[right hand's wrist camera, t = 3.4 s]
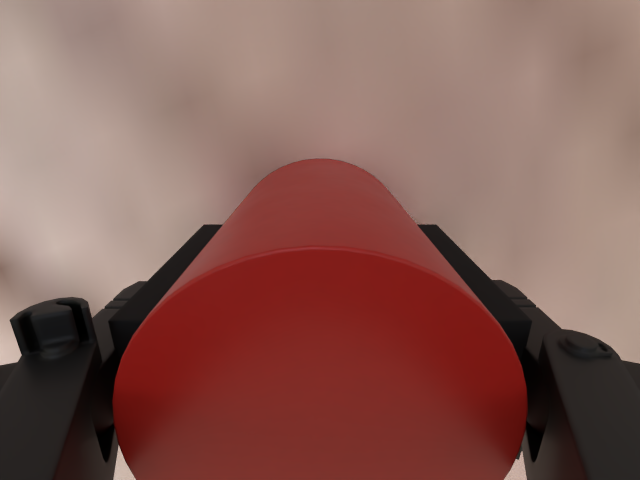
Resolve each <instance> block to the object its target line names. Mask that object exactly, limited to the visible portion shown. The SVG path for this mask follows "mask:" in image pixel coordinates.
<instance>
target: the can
mask: <svg viewBox="0 0 640 480" xmlns="http://www.w3.org/2000/svg"><path fill="white" fill-rule="evenodd" d="M112 404H113V423H114V427H115V432H116V436H117V440H118V444H119V446H120V449H121V451H122V454H123V456H124V459H125V461H126V463H127V465H128V467H129V468H130V470H131V472H132V473H133V475H134V477H135V479H136V480H504V478H505V477H506V475H507V474H508V473H509V471H510V470H511V467H512V465H513V463H514V461H515V459H516V457H517V455H518V453H519V451H520V447H521V444H522V441H523V437H524V434H525V430H526V422H527V414H528V402H527V387H526V382H525V378H524V374H523V369H522V365H521V363H520V361H519V358H518V356H517V353H516V351H515V349H514V346H513V344H512V342H511V341H510V339H509V338H508V336H507V335H506V333H505V332H504V330H503V328H502V327H501V325H500V324H499V323H498V321H497V320H496V319H495V318H494V317H493V315H492V314H491V313H490V312H489V311H488V309H487V308H486V307H485V306H484V305H483V303H482V302H481V301H480V300H479V299H478V297H477V296H476V295H475V294H474V293H473V291H472V290H471V289H470V288H469V287H468V285H467V284H466V283H465V282H464V281H463V279H462V278H461V277H460V276H459V275H458V273H457V272H456V271H455V270H454V269H453V267H452V266H451V265H450V264H449V263H448V261H447V260H446V259H445V258H444V257H443V255H442V254H441V253H440V252H439V251H438V249H437V248H436V247H435V246H434V245H433V243H432V242H431V241H430V240H429V239H428V237H427V236H426V235H425V234H424V233H423V231H422V230H421V229H420V228H419V227H418V225H417V224H416V223H415V222H414V221H413V219H412V218H411V217H410V216H409V215H408V213H407V212H406V211H405V210H404V209H403V207H402V206H401V205H400V204H399V203H398V201H397V200H396V199H395V198H394V197H393V195H392V194H391V193H390V192H389V191H388V190H387V188H386V187H385V186H384V185H383V184H382V183H381V182H380V181H379V180H377V179H376V178H375V177H374V176H373V175H371V174H369V173H368V172H366V171H365V170H363V169H361V168H359V167H357V166H354V165H352V164H349V163H346V162H342V161H338V160H331V159H309V160H302V161H298V162H294V163H291V164H288V165H286V166H283V167H281V168H279V169H277V170H276V171H274V172H272V173H270V174H269V175H268V176H266V177H265V178H264V179H263V180H261V181H260V182H259V183H258V184H257V185H256V186H255V187H254V188H253V190H252V191H251V192H250V193H249V194H248V196H247V197H246V198H245V199H244V200H243V202H242V203H241V204H240V205H239V206H238V208H237V209H236V210H235V211H234V212H233V214H232V215H231V216H230V217H229V218H228V220H227V221H226V222H225V223H224V224H223V226H222V227H221V228H220V229H219V230H218V232H217V233H216V234H215V235H214V236H213V238H212V239H211V240H210V241H209V242H208V244H207V245H206V246H205V247H204V248H203V250H202V251H201V252H200V253H199V254H198V256H197V257H196V258H195V259H194V260H193V262H192V263H191V264H190V265H189V266H188V268H187V269H186V270H185V271H184V272H183V274H182V275H181V276H180V277H179V278H178V280H177V281H176V282H175V283H174V284H173V286H172V287H171V288H170V289H169V290H168V292H167V293H166V294H165V295H164V296H163V298H162V299H161V300H160V301H159V302H158V304H157V305H156V306H155V307H154V308H153V310H152V311H151V312H150V313H149V314H148V316H147V317H146V318H145V320H144V321H143V322H142V324H141V325H140V326H139V328H138V329H137V330H136V332H135V333H134V334H133V336H132V338H131V340H130V342H129V344H128V346H127V348H126V350H125V352H124V354H123V356H122V358H121V361H120V365H119V368H118V371H117V374H116V378H115V385H114V393H113V401H112Z"/></svg>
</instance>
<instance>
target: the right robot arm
mask: <svg viewBox="0 0 640 480" xmlns="http://www.w3.org/2000/svg"><path fill="white" fill-rule="evenodd" d="M222 226H223V225H203V226H202V227H201V228H200V229H199V230H198V231H197V232H196V233H195V234H194V235H193V236H192V237H191V238H190V239H189V240H188V241H187V242H186V243H185V244H184V245H183V246H182V247H181V248H180V249H179V250H178V251H177V252H176V253H175V254H174V255H173V256H172V257H171V258H170V259H169V260H168V261H167V262H166V263H165V264H164V265H163V266H162V267H161V268H160V269H159V270H158V271H157V272H156V273H155V274H154V275H153V276H152V277H151V278H150V279H149V280H148V281H139V282H137V283H135V284H133V285H131V286H129V287H127V288H125V289H123V290H122V291H121V292H120V293H119V294H118V295H117V296H116V297H115V298H114V299H113V301H110V302H109V303H108V304H107V305H106V306H105V309H102V310H101V311H100V312H98V313H97V314H96V315H95V316H94V317H93V318H92V317H91V313H90V309H89V305H88V302H87V301H86V300H84V299H82V298H75V297H68V298H58V299H53V300H49V301H44V302H41V303H39V304H36V305H33V306H30V307H28V308H26V309H24V310H23V311H21V312H19V313H17V314H16V315H15V316H14V317H13V318H12V319H10V322H11V325H12V328H13V331H14V334H15V337H16V340H17V343H18V346H19V348H20V351H21V354H22V356H21V358H20V359H19V361H18V362H16V363H11V364H6V365H0V480H113V477H114V471H115V464H116V458H117V451H118V445H119V444H118V440H117V436H116V432H115V427H114V423H113V404H112V401H113V393H114V385H115V378H116V374H117V371H118V368H119V365H120V361H121V358H122V356H123V354H124V352H125V350H126V348H127V346H128V344H129V342H130V340H131V338H132V336H133V334H134V333H135V332H136V330H137V329H138V328H139V326H140V325H141V324H142V322H143V321H144V320H145V318H146V317H147V316H148V314H149V313H150V312H151V311H152V310H153V308H154V307H155V306H156V305H157V304H158V302H159V301H160V300H161V299H162V298H163V296H164V295H165V294H166V293H167V292H168V290H169V289H170V288H171V287H172V286H173V284H174V283H175V282H176V281H177V280H178V278H179V277H180V276H181V275H182V274H183V272H184V271H185V270H186V269H187V268H188V266H189V265H190V264H191V263H192V262H193V260H194V259H195V258H196V257H197V256H198V254H199V253H200V252H201V251H202V250H203V248H204V247H205V246H206V245H207V244H208V242H209V241H210V240H211V239H212V238H213V236H214V235H215V234H216V233H217V232H218V230H219V229H220V228H221V227H222ZM418 227H419V228H420V229H421V230H422V231H423V233H424V234H425V235H426V236H427V237H428V239H429V240H430V241H431V242H432V243H433V245H434V246H435V247H436V248H437V249H438V251H439V252H440V253H441V254H442V255H443V257H444V258H445V259H446V260H447V261H448V263H449V264H450V265H451V266H452V267H453V269H454V270H455V271H456V272H457V273H458V275H459V276H460V277H461V278H462V279H463V281H464V282H465V283H466V284H467V285H468V287H469V288H470V289H471V290H472V291H473V293H474V294H475V295H476V296H477V297H478V299H479V300H480V301H481V302H482V303H483V305H484V306H485V307H486V308H487V309H488V311H489V312H490V313H491V314H492V315H493V317H494V318H495V319H496V320H497V321H498V323H499V324H500V325H501V327H502V328H503V330H504V332H505V333H506V335H507V336H508V338H509V339H510V341H511V342H512V344H513V346H514V349H515V351H516V353H517V356H518V358H519V361H520V363H521V365H522V369H523V374H524V378H525V382H526V387H527V402H528V414H527V422H526V430H525V434H524V437H523V441H522V444H521V447H520V451H519V453H518V455H517V457H516V459H518V460H519V457H520V453H521V451H523V457H524V463H525V470H526V476H527V480H640V364H639V363H633V362H628V361H622V360H621V359H620V357H619V355H618V354H617V353H616V352H615V351H614V350H613V349H612V348H611V347H610V346H609V345H607V344H605V343H604V342H602V341H601V340H599V339H597V338H594V337H592V336H590V335H587V334H584V333H581V332H577V331H573V330H564V329H561V328H560V327H559V326H558V325H557V324H556V323H555V322H553V321H552V320H551V319H550V318H549V317H548V316H547V315H546V314H545V313H544V312H543V311H541V310H540V309H539V308H538V307H536V305H535V304H534V303H533V302H532V301H531V300H529V299H527V297H526V296H525V295H524V294H523V293H522V292H521V291H520V290H518V289H517V288H516V287H514V286H512V285H510V284H508V283H506V282H504V281H502V280H491V279H490V278H489V277H488V276H487V275H486V274H485V273H484V272H483V271H482V270H481V269H480V268H479V267H478V266H477V265H476V264H475V263H474V262H473V261H472V260H471V259H470V258H469V257H468V256H467V255H466V254H465V253H464V252H463V251H462V250H461V249H460V248H459V247H458V246H457V245H456V244H455V243H454V242H453V241H452V240H451V239H450V238H449V237H448V236H447V235H446V234H445V233H444V232H443V231H442V230H441V229H440V228H439V227H438V226H437V225H418Z"/></svg>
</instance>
